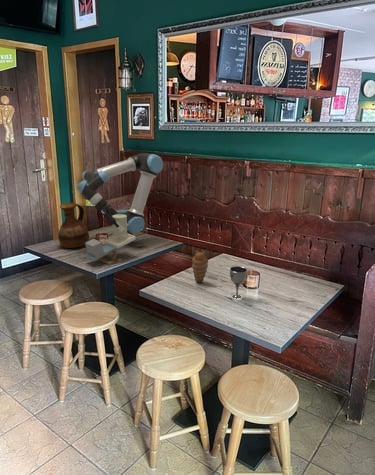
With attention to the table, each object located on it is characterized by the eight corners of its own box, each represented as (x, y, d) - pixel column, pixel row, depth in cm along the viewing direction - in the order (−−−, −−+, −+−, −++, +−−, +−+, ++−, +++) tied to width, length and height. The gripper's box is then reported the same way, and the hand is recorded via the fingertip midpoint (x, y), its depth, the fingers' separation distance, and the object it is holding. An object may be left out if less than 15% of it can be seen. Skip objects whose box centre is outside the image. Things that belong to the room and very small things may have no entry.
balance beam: (123, 236, 244) (120, 224, 240) (136, 241, 234) (133, 229, 231) (83, 255, 226) (79, 243, 223) (95, 261, 217) (92, 248, 213)
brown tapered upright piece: (208, 280, 204) (209, 249, 199) (205, 286, 197) (206, 254, 191) (193, 278, 207) (194, 247, 201) (189, 284, 199) (189, 252, 194)
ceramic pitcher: (53, 246, 255) (49, 203, 246) (77, 239, 271) (73, 198, 262) (72, 252, 245) (68, 207, 236) (95, 244, 260) (93, 202, 251)
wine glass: (228, 293, 189) (229, 266, 185) (243, 294, 189) (245, 266, 185) (229, 300, 182) (230, 272, 177) (245, 301, 181) (247, 272, 177)
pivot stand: (109, 255, 240) (108, 243, 238) (123, 261, 230) (122, 249, 228) (95, 258, 234) (95, 246, 231) (109, 265, 223) (108, 252, 221)
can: (129, 232, 237) (128, 213, 234) (125, 236, 228) (124, 217, 225) (114, 231, 238) (114, 213, 234) (110, 235, 229) (109, 216, 226)
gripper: (100, 202, 240) (125, 227, 243) (88, 210, 219) (115, 237, 222) (107, 194, 238) (133, 220, 241) (96, 201, 217) (124, 229, 220)
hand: (124, 228), depth 232 cm, fingers closed on can, 9 cm apart
